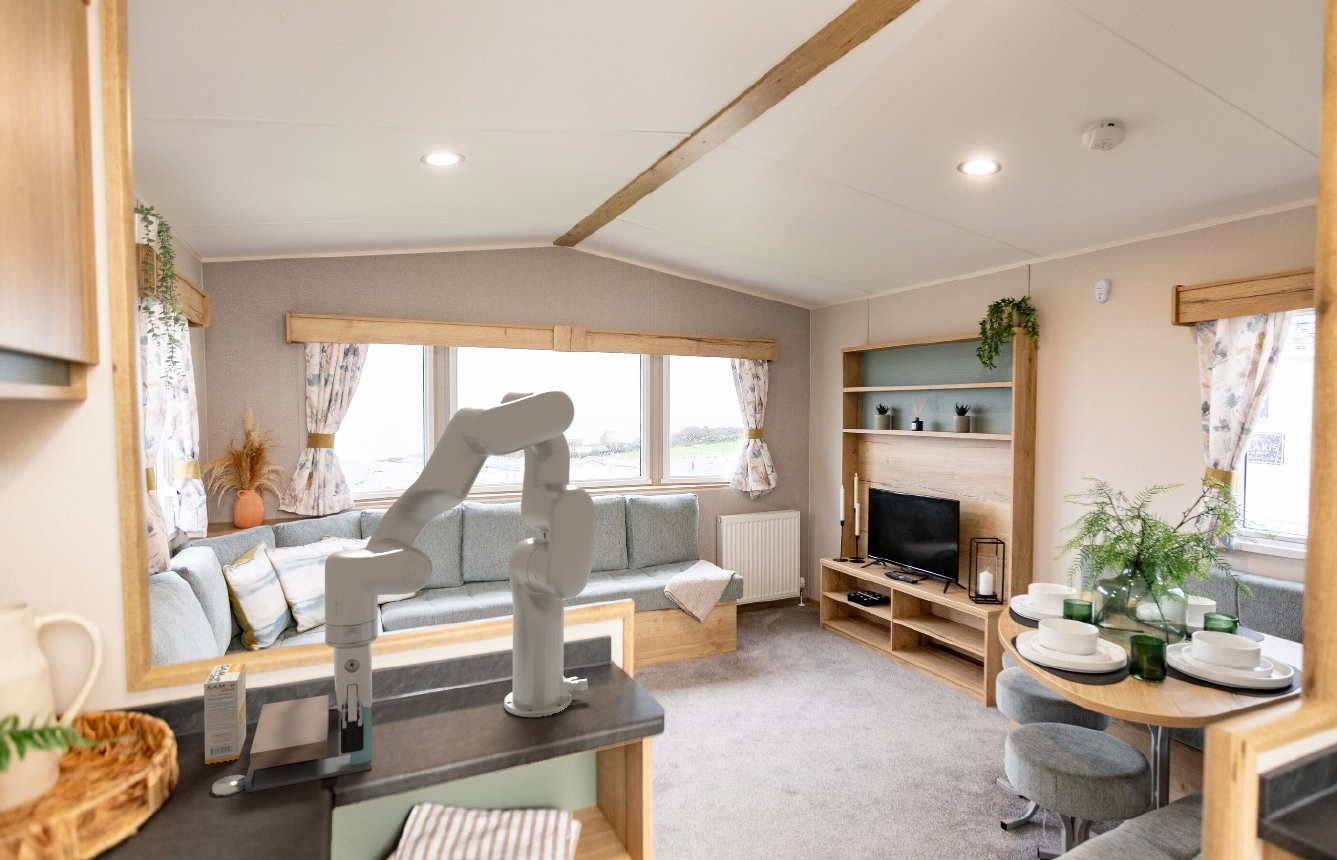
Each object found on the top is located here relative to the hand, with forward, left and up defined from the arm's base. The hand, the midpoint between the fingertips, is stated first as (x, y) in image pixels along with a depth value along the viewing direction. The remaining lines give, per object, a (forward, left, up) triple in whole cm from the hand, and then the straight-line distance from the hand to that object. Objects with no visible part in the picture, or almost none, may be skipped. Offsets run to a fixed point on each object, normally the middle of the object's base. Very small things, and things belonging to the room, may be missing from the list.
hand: (352, 745), depth 110 cm
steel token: (+16, 0, -3) cm, 17 cm away
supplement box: (+19, -13, -3) cm, 23 cm away
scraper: (+6, 0, -3) cm, 7 cm away
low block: (+9, -7, -3) cm, 11 cm away
